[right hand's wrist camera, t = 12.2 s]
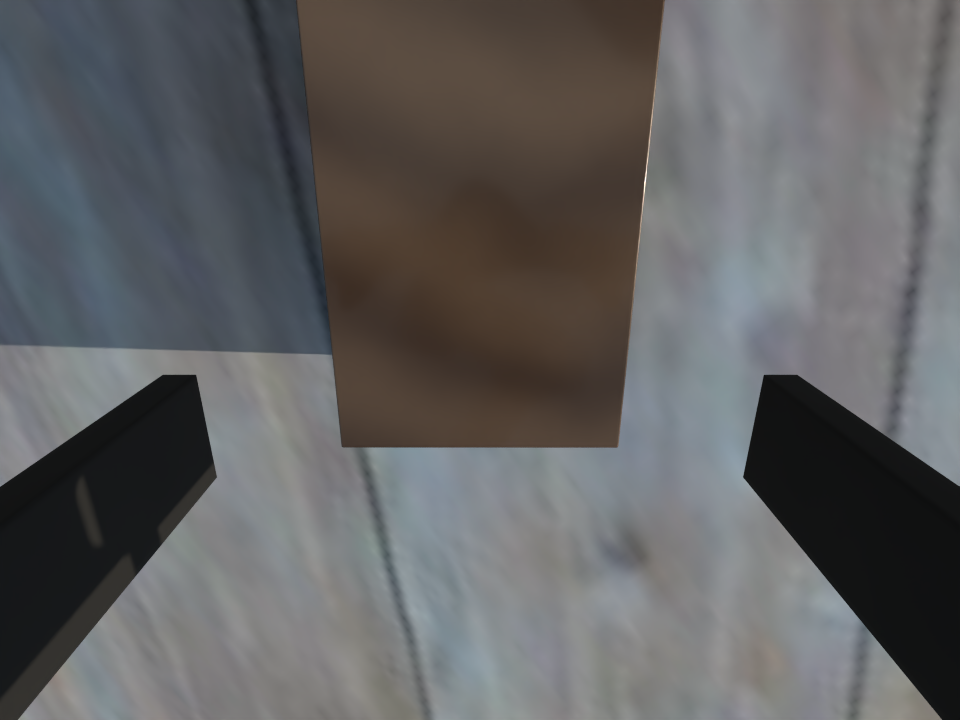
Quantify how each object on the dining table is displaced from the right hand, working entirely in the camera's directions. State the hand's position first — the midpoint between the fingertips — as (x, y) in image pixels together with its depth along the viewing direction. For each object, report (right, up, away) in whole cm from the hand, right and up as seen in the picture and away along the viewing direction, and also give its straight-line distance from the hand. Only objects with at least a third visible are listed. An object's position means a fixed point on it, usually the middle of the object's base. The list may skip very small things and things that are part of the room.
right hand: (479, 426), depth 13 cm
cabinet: (0, +12, +15) cm, 19 cm away
